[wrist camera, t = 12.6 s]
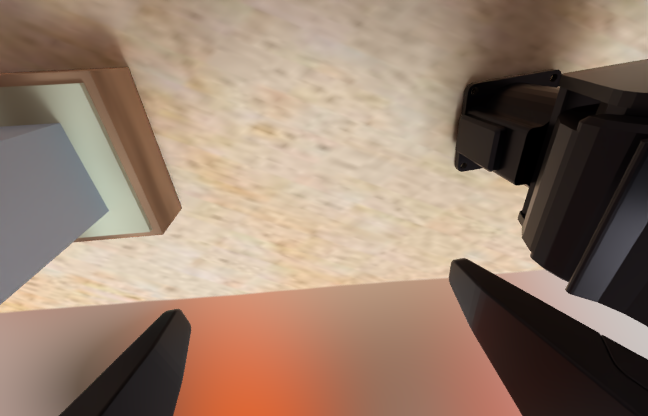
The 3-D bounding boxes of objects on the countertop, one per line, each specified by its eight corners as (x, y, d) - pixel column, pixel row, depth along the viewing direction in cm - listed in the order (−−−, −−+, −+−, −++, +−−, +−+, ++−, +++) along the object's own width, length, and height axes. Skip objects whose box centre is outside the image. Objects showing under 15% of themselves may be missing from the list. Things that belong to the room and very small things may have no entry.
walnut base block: (128, 67, 16) (84, 71, 12) (181, 208, 21) (160, 237, 18) (-52, 75, 15) (-146, 82, 12) (50, 218, 20) (3, 250, 17)
